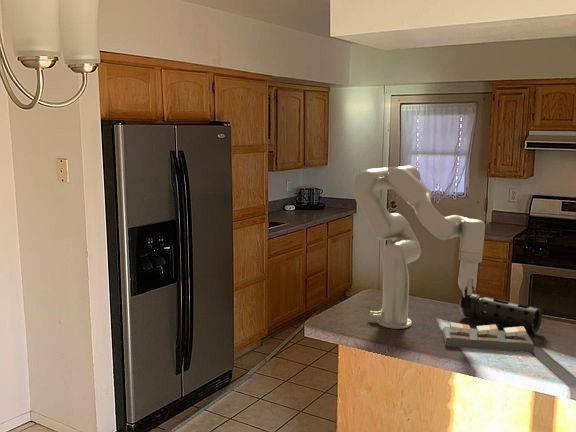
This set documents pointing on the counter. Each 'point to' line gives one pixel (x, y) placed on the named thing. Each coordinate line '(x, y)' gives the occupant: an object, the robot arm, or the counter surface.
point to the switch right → (515, 331)
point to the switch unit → (487, 340)
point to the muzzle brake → (503, 313)
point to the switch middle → (487, 329)
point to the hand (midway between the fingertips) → (465, 307)
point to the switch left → (460, 327)
